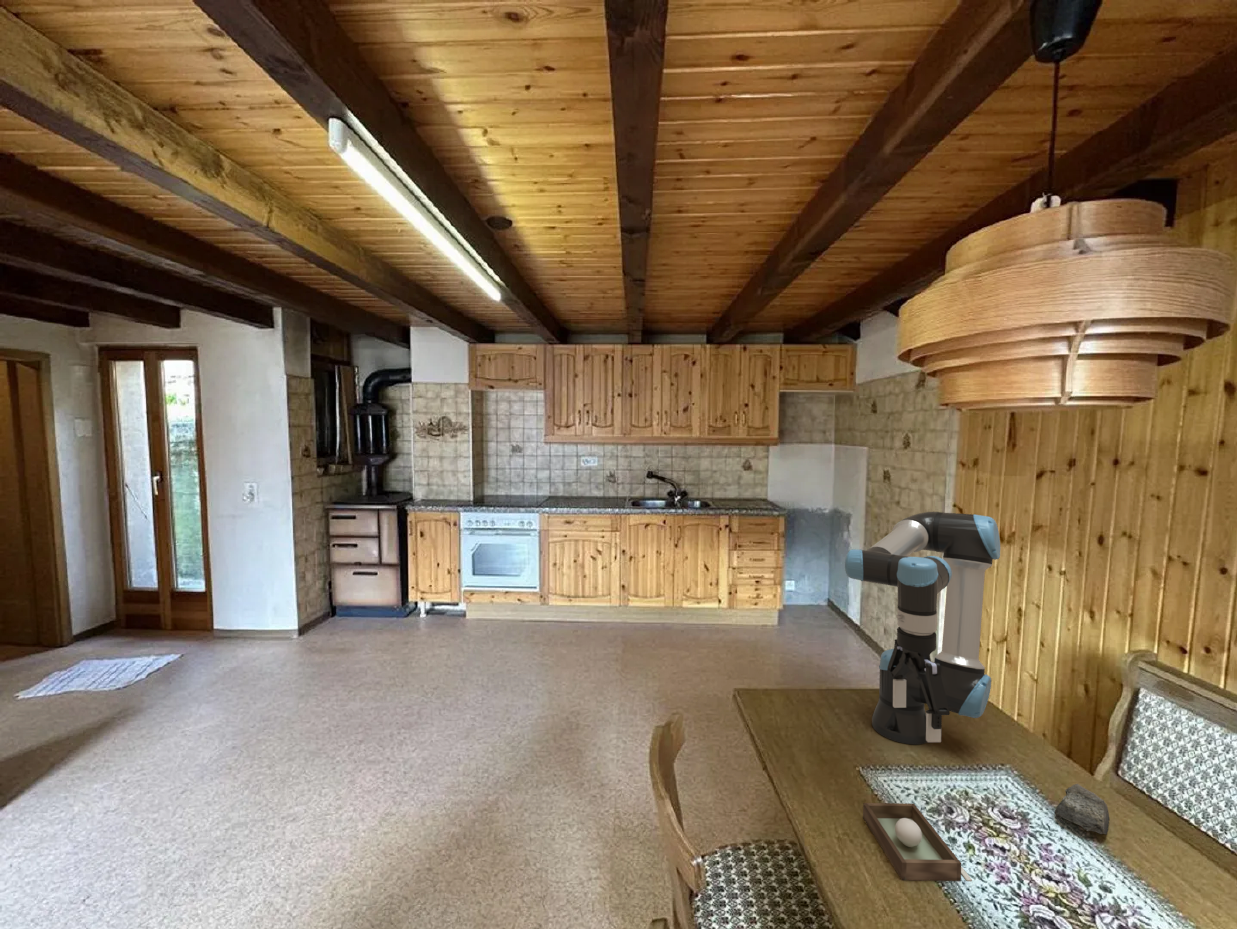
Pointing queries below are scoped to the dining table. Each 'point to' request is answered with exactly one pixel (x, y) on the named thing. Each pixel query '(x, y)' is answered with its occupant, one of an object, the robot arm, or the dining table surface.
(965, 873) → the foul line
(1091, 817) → the rock
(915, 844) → the cream egg
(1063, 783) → the dining table surface
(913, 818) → the brown wooden tray
